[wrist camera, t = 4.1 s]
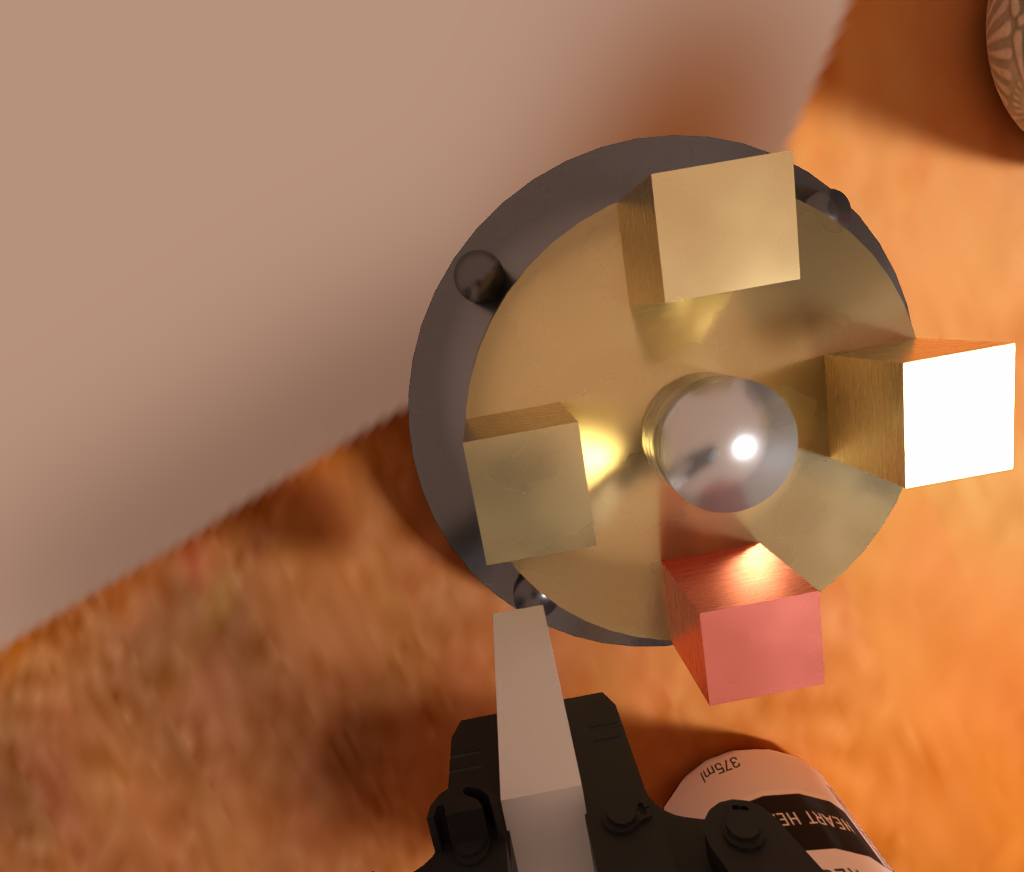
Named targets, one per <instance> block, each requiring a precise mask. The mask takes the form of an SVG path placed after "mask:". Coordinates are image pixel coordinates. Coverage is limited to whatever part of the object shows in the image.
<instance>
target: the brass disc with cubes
mask: <svg viewBox="0 0 1024 872" xmlns="http://www.w3.org/2000/svg"><path fill="white" fill-rule="evenodd" d="M1014 367H1015V343H1003V342H982V341H962V340H941V339H920V338H915V333H914V330H913V327H912V324H911V322H910V319H909V316H908V313H907V311H906V308H905V305H904V303H903V301H902V299H901V297H900V296H899V294H898V292H897V290H896V288H895V286H894V284H893V283H892V281H891V279H890V277H889V276H888V274H887V273H886V272H885V270H884V269H883V268H882V266H881V265H880V264H879V262H878V261H877V260H876V258H875V257H874V256H873V254H872V253H871V252H870V251H869V250H868V249H867V248H866V247H865V246H864V245H863V244H862V243H861V242H860V241H859V240H858V239H857V238H856V237H855V236H854V235H853V234H852V233H851V232H850V231H848V230H847V229H846V228H844V227H843V226H841V225H840V224H839V223H837V222H836V221H835V220H833V219H832V218H831V217H829V216H828V215H826V214H825V213H823V212H821V211H819V210H817V209H815V208H813V207H811V206H810V205H808V204H806V203H804V202H802V201H800V200H798V199H796V198H795V181H794V164H793V150H788V151H782V152H777V153H771V154H765V155H759V156H753V157H747V158H742V159H736V160H730V161H724V162H718V163H713V164H707V165H701V166H695V167H689V168H684V169H678V170H672V171H666V172H660V173H654V174H651V175H649V176H648V177H647V178H646V179H645V180H643V181H642V182H641V183H640V184H639V185H637V186H636V187H635V188H634V189H633V190H631V191H630V192H629V193H628V194H627V195H625V196H624V197H623V198H622V199H621V200H619V201H618V202H617V203H614V204H612V205H609V206H608V207H606V208H604V209H602V210H600V211H599V212H597V213H595V214H593V215H592V216H590V217H588V218H586V219H584V220H583V221H581V222H579V223H578V224H577V225H575V226H574V227H573V228H571V229H570V230H569V231H567V232H566V233H565V234H563V235H562V236H561V237H559V238H558V239H557V240H555V241H554V242H553V243H552V244H551V245H550V246H549V247H548V248H547V249H546V250H545V251H544V252H543V253H542V254H541V255H539V256H538V257H537V258H536V259H535V260H534V261H533V262H532V263H531V264H530V265H529V266H528V267H527V268H526V269H525V270H524V271H523V272H522V274H521V275H520V276H519V278H518V279H517V280H516V281H515V283H514V284H513V285H512V286H511V288H510V289H509V290H508V292H507V293H506V294H505V295H504V297H503V299H502V300H501V302H500V304H499V306H498V307H497V309H496V311H495V312H494V314H493V316H492V317H491V319H490V321H489V323H488V326H487V328H486V330H485V333H484V335H483V337H482V340H481V342H480V344H479V347H478V351H477V354H476V358H475V361H474V365H473V369H472V372H471V379H470V386H469V393H468V400H467V407H466V422H465V429H464V437H463V447H464V452H465V457H466V462H467V467H468V472H469V477H470V482H471V487H472V493H473V498H474V503H475V508H476V513H477V518H478V523H479V528H480V533H481V539H482V544H483V549H484V554H485V559H486V564H487V565H493V564H498V563H503V562H509V561H511V563H512V564H513V565H514V566H515V568H516V569H517V570H518V571H519V573H520V574H521V575H522V576H523V577H524V578H525V579H527V580H528V581H529V582H530V583H531V584H532V585H533V586H534V587H535V588H536V589H537V590H538V591H539V592H540V593H542V594H543V595H544V596H546V597H547V598H549V599H550V600H551V601H553V602H554V603H555V604H557V605H558V606H560V607H561V608H563V609H564V610H566V611H568V612H570V613H572V614H574V615H576V616H577V617H579V618H581V619H583V620H585V621H587V622H590V623H592V624H595V625H598V626H600V627H603V628H605V629H608V630H611V631H615V632H619V633H623V634H627V635H631V636H635V637H642V638H650V639H659V640H671V641H672V643H673V645H674V646H675V648H676V650H677V651H678V653H679V655H680V656H681V658H682V660H683V661H684V663H685V665H686V667H687V668H688V670H689V672H690V673H691V675H692V677H693V678H694V680H695V682H696V683H697V685H698V687H699V688H700V690H701V692H702V693H703V695H704V697H705V699H706V700H707V702H708V704H709V705H710V706H711V705H716V704H722V703H727V702H732V701H737V700H742V699H748V698H753V697H758V696H763V695H769V694H774V693H779V692H784V691H789V690H795V689H800V688H805V687H810V686H816V685H821V684H824V667H823V650H822V633H821V617H820V600H819V592H821V591H822V590H823V589H824V588H825V587H827V586H828V585H829V584H830V583H831V582H833V581H834V580H835V579H836V578H837V577H839V576H840V575H841V574H842V573H843V572H844V571H845V570H846V569H847V568H848V567H849V566H850V565H851V564H852V563H853V562H854V561H855V560H856V559H857V558H858V557H859V556H860V554H861V553H862V552H863V551H864V550H865V549H866V547H867V546H868V545H869V543H870V542H871V541H872V539H873V538H874V537H875V535H876V534H877V533H878V531H879V530H880V529H881V527H882V526H883V524H884V522H885V520H886V519H887V517H888V515H889V514H890V512H891V510H892V509H893V507H894V505H895V503H896V501H897V499H898V497H899V495H900V492H901V490H902V488H903V487H904V488H909V487H914V486H920V485H925V484H931V483H936V482H941V481H947V480H952V479H958V478H963V477H968V476H974V475H979V474H985V473H990V472H995V471H1001V470H1006V469H1012V468H1013V418H1014ZM697 372H715V373H721V374H725V375H730V376H734V377H738V378H742V379H747V380H751V381H754V382H758V383H761V384H763V385H765V386H767V387H769V388H770V389H772V390H773V391H775V392H776V393H777V394H778V395H779V396H781V397H782V399H783V400H784V401H785V402H786V403H787V405H788V407H789V408H790V410H791V412H792V414H793V416H794V418H795V422H796V426H797V432H798V448H797V454H796V458H795V462H794V464H793V467H792V469H791V471H790V473H789V475H788V477H787V478H786V480H785V481H784V482H783V484H782V485H781V486H780V487H779V488H778V490H777V491H776V492H775V493H773V494H772V495H771V496H770V497H769V498H767V499H766V500H764V501H763V502H762V503H760V504H758V505H756V506H754V507H751V508H749V509H746V510H742V511H738V512H732V513H717V512H710V511H707V510H703V509H701V508H699V507H696V506H694V505H693V504H691V503H689V502H688V501H687V500H685V499H684V498H683V497H682V496H681V495H680V494H678V493H677V492H676V491H675V490H674V489H673V488H672V487H671V486H669V485H668V484H667V483H666V482H665V481H664V480H663V479H661V478H660V477H659V476H658V475H657V474H656V473H655V472H654V470H653V469H652V467H651V466H650V465H649V463H648V461H647V459H646V456H645V453H644V450H643V445H642V427H643V422H644V418H645V416H646V413H647V410H648V408H649V406H650V405H651V403H652V401H653V400H654V398H655V397H656V396H657V395H658V394H659V392H660V391H661V390H663V389H664V388H665V387H666V386H667V385H669V384H670V383H671V382H673V381H675V380H676V379H678V378H680V377H683V376H685V375H688V374H692V373H697Z"/></svg>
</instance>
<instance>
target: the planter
mask: <svg viewBox="0 0 1024 872" xmlns="http://www.w3.org/2000/svg"><path fill="white" fill-rule="evenodd" d="M986 46H987V53H988V60H989V65H990V69H991V73H992V77H993V80H994V83H995V86H996V89H997V92H998V94H999V96H1000V98H1001V100H1002V102H1003V104H1004V106H1005V108H1006V110H1007V111H1008V113H1009V114H1010V116H1011V117H1012V119H1013V120H1014V121H1015V123H1016V124H1017V125H1018V126H1019V128H1020V129H1021V130H1022V131H1023V132H1024V0H988V4H987V12H986Z"/></svg>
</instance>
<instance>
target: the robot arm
mask: <svg viewBox="0 0 1024 872" xmlns="http://www.w3.org/2000/svg"><path fill="white" fill-rule="evenodd" d="M493 628H494V652H495V676H496V700H497V714H493V715H488V716H483V717H478V718H472V719H467V720H462V721H461V722H460V724H459V725H458V727H457V729H456V731H455V733H454V734H453V736H452V741H451V755H450V756H451V759H450V774H449V784H448V789H447V790H446V791H444V792H443V793H441V794H440V795H439V796H438V797H437V799H436V800H435V801H434V803H433V804H432V805H431V807H430V810H429V813H428V816H427V821H428V825H429V829H430V833H431V837H432V841H433V845H434V849H435V854H434V855H433V857H432V858H431V859H430V860H429V861H428V862H427V863H425V864H424V865H423V866H422V867H420V868H419V869H417V870H416V871H414V872H824V870H823V869H822V868H821V867H820V866H819V865H818V864H817V863H816V862H815V861H814V859H813V858H812V857H811V856H810V855H809V854H808V853H807V852H806V851H805V850H804V848H803V847H802V846H801V845H800V844H799V843H798V842H797V841H796V840H795V839H794V837H793V836H792V835H791V834H790V833H789V832H788V831H787V830H786V829H785V828H784V826H783V825H782V824H781V823H780V822H779V821H778V820H777V819H776V818H775V817H774V816H773V815H772V814H771V813H769V812H768V811H767V810H766V809H765V808H763V807H762V806H759V805H757V804H755V803H752V802H750V801H746V800H736V799H731V800H727V801H723V802H719V803H718V804H716V805H715V806H714V807H712V808H711V809H710V810H709V811H708V813H707V815H706V817H705V819H698V818H689V817H683V816H678V815H674V814H672V813H669V812H667V811H665V810H663V809H662V808H660V807H659V806H658V805H656V804H655V803H654V802H653V801H652V800H651V798H650V797H649V796H648V794H647V792H646V790H645V788H644V786H643V783H642V780H641V777H640V774H639V771H638V769H637V766H636V763H635V760H634V757H633V754H632V751H631V748H630V745H629V743H628V740H627V738H626V734H625V731H624V728H623V725H622V723H621V720H620V717H619V714H618V711H617V708H616V705H615V704H614V703H613V702H612V701H611V700H610V699H609V698H608V697H607V696H606V695H605V694H603V693H602V692H601V693H596V694H590V695H585V696H580V697H575V698H569V699H564V700H563V696H562V691H561V686H560V682H559V677H558V673H557V668H556V663H555V659H554V654H553V649H552V645H551V640H550V636H549V631H548V626H547V622H546V617H545V612H544V608H543V605H538V606H533V607H528V608H522V609H517V610H512V611H506V612H501V613H496V614H493ZM373 872H374V871H373Z"/></svg>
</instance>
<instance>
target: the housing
mask: <svg viewBox="0 0 1024 872" xmlns="http://www.w3.org/2000/svg"><path fill="white" fill-rule="evenodd" d="M765 154H771V153H768V152H766V151H763V150H760V149H757V148H755V147H752V146H749V145H746V144H742V143H738V142H733V141H728V140H722V139H717V138H712V137H701V136H679V135H669V136H659V137H649V138H640V139H639V138H638V139H633V140H629V141H625V142H621V143H617V144H612V145H609V146H604V147H600V148H598V149H595V150H593V151H590V152H588V153H585V154H583V155H580V156H578V157H575V158H573V159H570V160H567V161H565V162H563V163H562V164H560V165H558V166H556V167H554V168H553V169H551V170H549V171H547V172H546V173H544V174H542V175H540V176H539V177H537V178H535V179H534V180H532V181H531V182H529V183H528V184H527V185H525V186H524V187H523V188H521V189H520V190H519V191H518V192H516V193H515V194H514V195H512V196H511V197H510V198H508V199H507V200H506V201H505V202H503V203H502V204H501V205H500V206H499V207H498V208H497V209H496V210H495V211H494V212H493V213H492V214H491V215H490V216H489V217H488V218H487V219H486V220H485V221H484V222H483V223H482V224H481V225H480V226H479V227H478V228H477V229H476V230H475V232H474V233H473V234H472V236H471V237H470V238H469V239H468V241H467V242H466V243H465V245H464V246H463V247H462V249H461V250H460V251H459V253H458V254H457V255H456V256H455V258H454V259H453V261H452V263H451V264H450V266H449V268H448V270H447V271H446V273H445V275H444V277H443V279H442V280H441V282H440V284H439V286H438V287H437V289H436V291H435V293H434V296H433V298H432V301H431V303H430V305H429V308H428V310H427V313H426V315H425V318H424V320H423V323H422V325H421V329H420V333H419V337H418V341H417V345H416V349H415V352H414V356H413V361H412V369H411V378H410V386H409V431H410V438H411V445H412V452H413V458H414V463H415V466H416V470H417V473H418V477H419V480H420V484H421V487H422V491H423V494H424V496H425V498H426V500H427V503H428V505H429V507H430V509H431V512H432V514H433V516H434V518H435V521H436V523H437V524H438V526H439V528H440V529H441V531H442V532H443V534H444V536H445V537H446V539H447V541H448V542H449V544H450V545H451V547H452V549H453V550H454V551H455V552H456V554H457V555H458V556H459V557H460V558H461V560H462V561H463V562H464V563H465V565H466V566H467V567H468V568H469V569H470V571H471V572H472V573H473V574H474V575H475V576H476V577H477V578H478V579H479V580H481V581H482V582H483V583H484V584H485V585H486V586H487V587H488V588H489V589H490V590H491V591H492V592H493V593H494V594H496V595H497V596H499V597H500V598H501V599H503V600H504V601H506V602H507V603H508V604H510V605H511V606H513V607H514V608H515V609H522V608H528V607H533V606H538V605H543V608H544V612H545V617H546V622H547V626H549V627H551V628H554V629H557V630H559V631H562V632H565V633H567V634H570V635H573V636H576V637H580V638H584V639H588V640H593V641H597V642H601V643H607V644H616V645H625V646H668V645H673V643H672V641H671V640H659V639H650V638H642V637H635V636H631V635H627V634H623V633H619V632H615V631H611V630H608V629H605V628H603V627H600V626H598V625H595V624H592V623H590V622H587V621H585V620H583V619H581V618H579V617H577V616H576V615H574V614H572V613H570V612H568V611H566V610H564V609H563V608H561V607H560V606H558V605H557V604H555V603H554V602H553V601H551V600H550V599H549V598H547V597H546V596H544V595H543V594H542V593H540V592H539V591H538V590H537V589H536V588H535V587H534V586H533V585H532V584H531V583H530V582H529V581H528V580H527V579H525V578H524V577H523V576H522V575H521V574H520V573H519V571H518V570H517V569H516V568H515V566H514V565H513V564H512V563H511V561H509V562H503V563H498V564H493V565H487V564H486V559H485V554H484V549H483V544H482V539H481V533H480V528H479V523H478V518H477V513H476V508H475V503H474V498H473V493H472V487H471V482H470V477H469V472H468V467H467V462H466V457H465V452H464V447H463V437H464V429H465V422H466V407H467V400H468V393H469V386H470V379H471V372H472V369H473V365H474V361H475V358H476V354H477V351H478V347H479V344H480V342H481V340H482V337H483V335H484V333H485V330H486V328H487V326H488V323H489V321H490V319H491V317H492V316H493V314H494V312H495V311H496V309H497V307H498V306H499V304H500V302H501V300H502V299H503V297H504V295H505V294H506V293H507V292H508V290H509V289H510V288H511V286H512V285H513V284H514V283H515V281H516V280H517V279H518V278H519V276H520V275H521V274H522V272H523V271H524V270H525V269H526V268H527V267H528V266H529V265H530V264H531V263H532V262H533V261H534V260H535V259H536V258H537V257H538V256H539V255H541V254H542V253H543V252H544V251H545V250H546V249H547V248H548V247H549V246H550V245H551V244H552V243H553V242H554V241H555V240H557V239H558V238H559V237H561V236H562V235H563V234H565V233H566V232H567V231H569V230H570V229H571V228H573V227H574V226H575V225H577V224H578V223H579V222H581V221H583V220H584V219H586V218H588V217H590V216H592V215H593V214H595V213H597V212H599V211H600V210H602V209H604V208H606V207H608V206H609V205H612V204H614V203H617V202H618V201H619V200H621V199H622V198H623V197H624V196H625V195H627V194H628V193H629V192H630V191H631V190H633V189H634V188H635V187H636V186H637V185H639V184H640V183H641V182H642V181H643V180H645V179H646V178H647V177H648V176H649V175H651V174H654V173H660V172H666V171H672V170H678V169H684V168H689V167H695V166H701V165H707V164H713V163H718V162H724V161H730V160H736V159H742V158H747V157H753V156H759V155H765ZM794 181H795V198H796V199H798V200H800V201H802V202H804V203H806V204H808V205H810V206H811V207H813V208H815V209H817V210H819V211H821V212H823V213H825V214H826V215H828V216H829V217H831V218H832V219H833V220H835V221H836V222H837V223H839V224H840V225H841V226H843V227H844V228H846V229H847V230H848V231H850V232H851V233H852V234H853V235H854V236H855V237H856V238H857V239H858V240H859V241H860V242H861V243H862V244H863V245H864V246H865V247H866V248H867V249H868V250H869V251H870V252H871V253H872V254H873V256H874V257H875V258H876V260H877V261H878V262H879V264H880V265H881V266H882V268H883V269H884V270H885V272H886V273H887V274H888V276H889V277H890V279H891V281H892V283H893V284H894V286H895V288H896V290H897V292H898V294H899V296H900V297H901V299H902V301H903V303H904V305H905V308H906V311H907V313H908V316H909V311H908V307H907V303H906V300H905V298H904V295H903V292H902V289H901V287H900V284H899V281H898V279H897V276H896V273H895V271H894V269H893V268H892V266H891V264H890V262H889V260H888V258H887V256H886V255H885V253H884V251H883V249H882V247H881V245H880V243H879V242H878V241H877V239H876V238H875V237H874V235H873V234H872V233H871V231H870V230H869V229H868V227H867V226H866V225H865V223H864V222H863V220H862V219H861V218H860V216H859V215H858V214H857V213H856V212H855V211H854V210H853V209H852V208H851V206H850V203H849V201H848V199H847V197H846V196H845V195H844V194H843V193H842V192H840V191H838V190H835V189H830V188H829V187H828V186H826V185H825V184H824V183H822V182H821V181H820V180H818V179H817V178H815V177H814V176H813V175H811V174H810V173H809V172H807V171H805V170H803V169H802V168H800V167H798V166H796V165H794ZM909 319H910V316H909ZM910 322H911V320H910ZM642 445H643V450H644V453H645V456H646V459H647V461H648V463H649V465H650V466H651V467H652V469H653V470H654V472H655V473H656V474H657V475H658V476H659V477H660V478H661V479H663V480H664V481H665V482H666V483H667V484H668V485H669V486H671V487H672V488H673V489H674V490H675V491H676V492H677V493H678V494H680V495H681V496H682V497H683V498H684V499H685V500H687V501H688V502H689V503H691V504H693V505H694V506H696V507H699V508H701V509H703V510H707V511H710V512H717V513H732V512H738V511H742V510H746V509H749V508H751V507H754V506H756V505H758V504H760V503H762V502H763V501H764V500H766V499H767V498H769V497H770V496H771V495H772V494H773V493H775V492H776V491H777V490H778V488H779V487H780V486H781V485H782V484H783V482H784V481H785V480H786V478H787V477H788V475H789V473H790V471H791V469H792V467H793V464H794V462H795V458H796V454H797V448H798V432H797V426H796V422H795V418H794V416H793V414H792V412H791V410H790V408H789V407H788V405H787V403H786V402H785V401H784V400H783V399H782V397H781V396H779V395H778V394H777V393H776V392H775V391H773V390H772V389H770V388H769V387H767V386H765V385H763V384H761V383H758V382H754V381H751V380H747V379H742V378H738V377H734V376H730V375H725V374H721V373H715V372H697V373H692V374H688V375H685V376H683V377H680V378H678V379H676V380H675V381H673V382H671V383H670V384H669V385H667V386H666V387H665V388H664V389H663V390H661V391H660V392H659V394H658V395H657V396H656V397H655V398H654V400H653V401H652V403H651V405H650V406H649V408H648V410H647V413H646V416H645V418H644V422H643V427H642Z"/></svg>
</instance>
